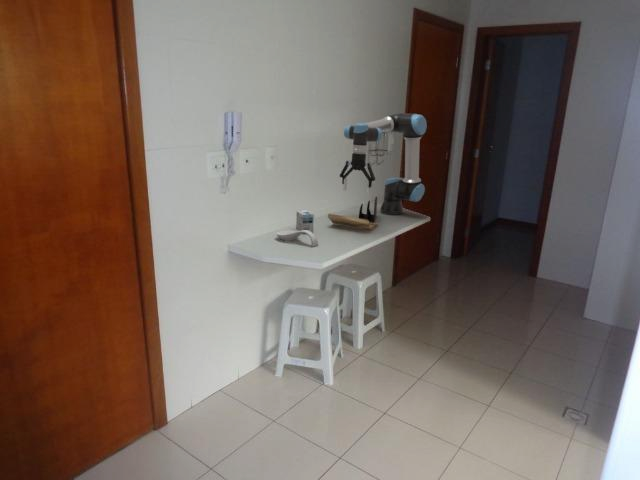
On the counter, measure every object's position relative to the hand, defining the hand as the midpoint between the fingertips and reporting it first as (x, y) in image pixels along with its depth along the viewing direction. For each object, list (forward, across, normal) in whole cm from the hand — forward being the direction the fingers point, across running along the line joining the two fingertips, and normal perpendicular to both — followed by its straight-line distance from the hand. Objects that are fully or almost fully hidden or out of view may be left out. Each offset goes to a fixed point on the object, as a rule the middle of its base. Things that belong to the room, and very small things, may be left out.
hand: (356, 191), depth 259 cm
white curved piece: (+23, -16, -38) cm, 47 cm away
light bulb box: (+23, -22, -18) cm, 36 cm away
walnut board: (+22, -2, +11) cm, 25 cm away
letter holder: (+22, -2, +29) cm, 37 cm away
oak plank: (+19, -3, +1) cm, 19 cm away
